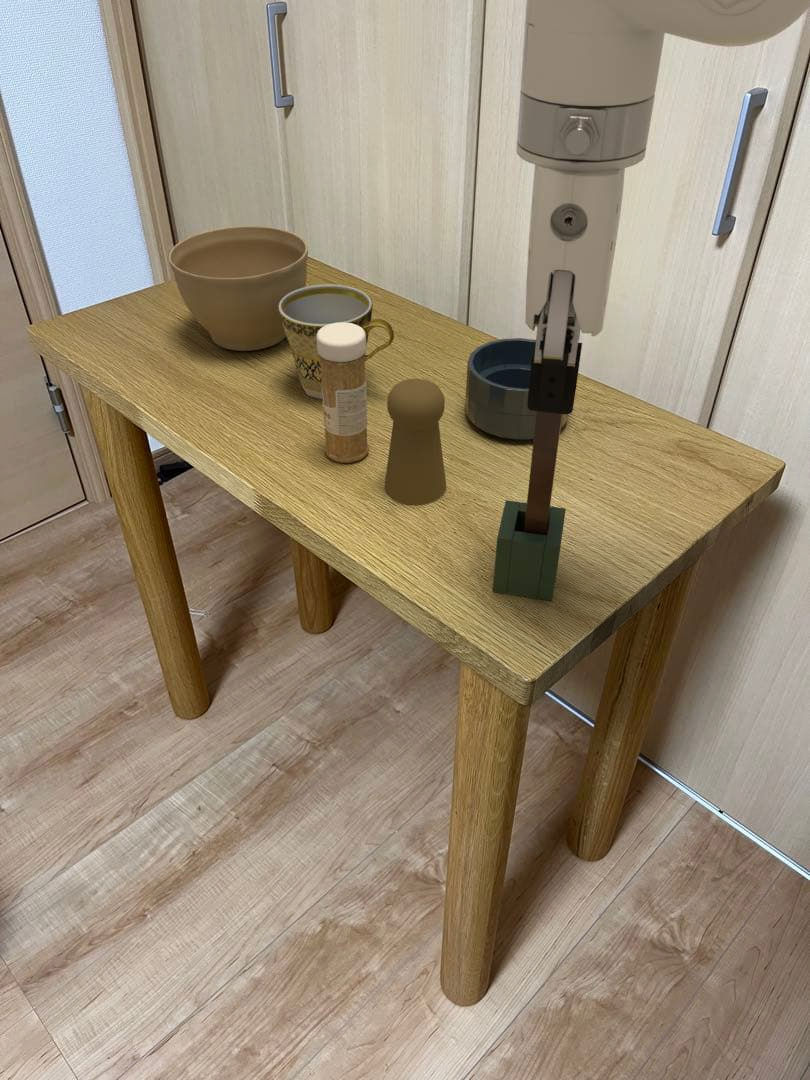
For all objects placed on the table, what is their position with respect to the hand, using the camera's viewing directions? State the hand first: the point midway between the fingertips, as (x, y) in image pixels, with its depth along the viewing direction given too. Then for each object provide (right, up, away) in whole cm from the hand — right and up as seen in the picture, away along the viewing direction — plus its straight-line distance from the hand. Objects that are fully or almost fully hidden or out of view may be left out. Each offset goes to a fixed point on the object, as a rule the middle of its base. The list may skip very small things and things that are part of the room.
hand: (551, 399), depth 61 cm
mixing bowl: (+1, +3, +31) cm, 31 cm away
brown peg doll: (-10, -5, +22) cm, 24 cm away
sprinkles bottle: (-16, -1, +26) cm, 31 cm away
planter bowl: (-30, +15, +45) cm, 57 cm away
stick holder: (0, -13, +12) cm, 18 cm away
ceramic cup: (-18, +7, +35) cm, 40 cm away
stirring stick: (0, -10, +8) cm, 13 cm away
